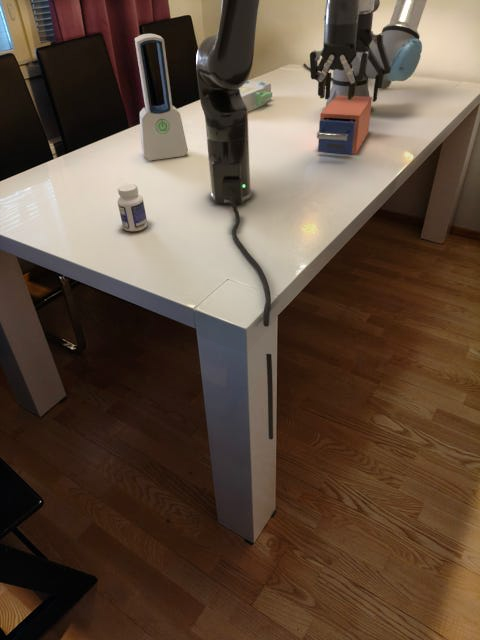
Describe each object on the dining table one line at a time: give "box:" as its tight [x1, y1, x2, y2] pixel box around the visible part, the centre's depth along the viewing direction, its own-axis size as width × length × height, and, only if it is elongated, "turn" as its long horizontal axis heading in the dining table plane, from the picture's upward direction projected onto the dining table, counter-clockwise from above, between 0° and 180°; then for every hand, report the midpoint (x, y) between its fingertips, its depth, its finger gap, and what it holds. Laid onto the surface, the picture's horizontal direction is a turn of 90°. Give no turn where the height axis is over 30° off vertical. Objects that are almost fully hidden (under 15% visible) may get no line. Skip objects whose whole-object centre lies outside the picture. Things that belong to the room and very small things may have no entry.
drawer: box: [316, 118, 355, 155], centre depth 134 cm, size 23×9×8 cm, turn 158°
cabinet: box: [319, 95, 373, 155], centre depth 139 cm, size 19×10×10 cm, turn 158°
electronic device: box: [134, 33, 189, 162], centre depth 131 cm, size 12×8×30 cm, turn 105°
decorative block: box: [239, 79, 273, 113], centre depth 175 cm, size 26×6×20 cm
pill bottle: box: [117, 182, 148, 232], centre depth 102 cm, size 5×5×9 cm
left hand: (335, 98), depth 122 cm, fingers open, 6 cm apart
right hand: (350, 99), depth 140 cm, fingers open, 13 cm apart
